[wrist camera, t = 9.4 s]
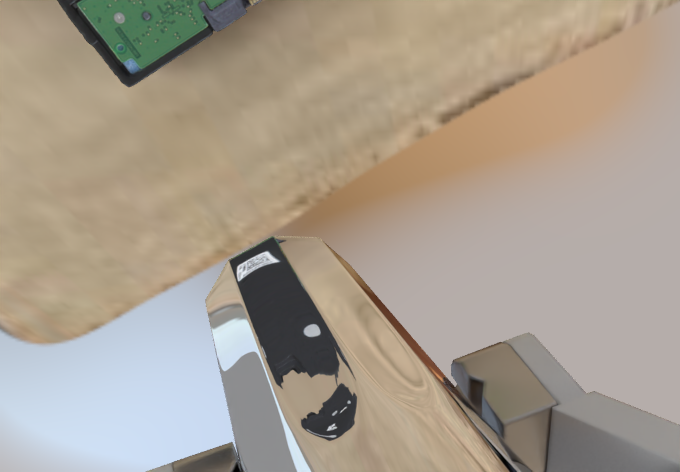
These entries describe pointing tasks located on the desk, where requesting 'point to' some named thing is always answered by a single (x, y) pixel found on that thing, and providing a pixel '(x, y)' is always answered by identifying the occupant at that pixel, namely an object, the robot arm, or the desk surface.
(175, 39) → the disk drive
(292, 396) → the milkshake
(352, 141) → the desk surface
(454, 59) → the desk surface
